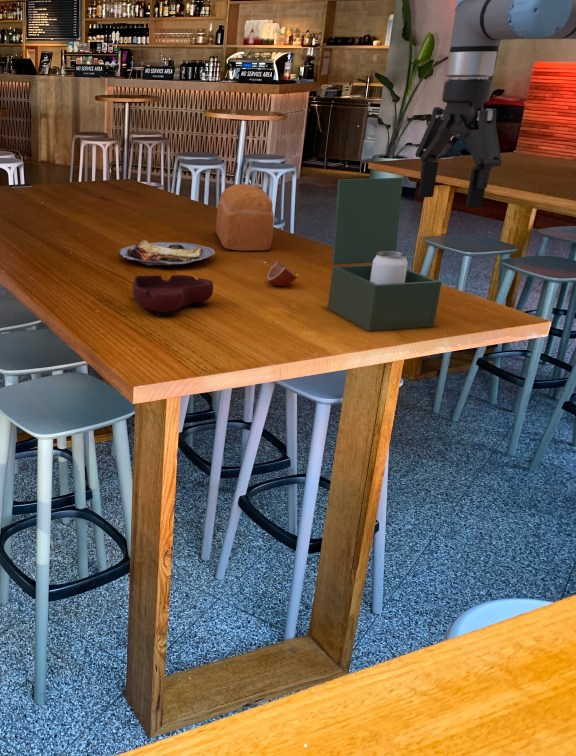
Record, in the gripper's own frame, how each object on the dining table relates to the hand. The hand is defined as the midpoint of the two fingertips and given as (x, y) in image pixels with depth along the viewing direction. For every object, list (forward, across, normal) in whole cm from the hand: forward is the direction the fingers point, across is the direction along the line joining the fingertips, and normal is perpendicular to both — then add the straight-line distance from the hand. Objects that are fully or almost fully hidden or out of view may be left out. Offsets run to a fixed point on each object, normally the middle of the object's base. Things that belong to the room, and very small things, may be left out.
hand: (448, 202), depth 146 cm
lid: (+6, +16, +5) cm, 18 cm away
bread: (+23, +84, +2) cm, 87 cm away
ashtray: (+24, +27, +45) cm, 58 cm away
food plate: (+23, +68, +31) cm, 78 cm away
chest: (+24, +8, +6) cm, 26 cm away
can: (+23, +8, +5) cm, 25 cm away
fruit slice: (+24, +36, +13) cm, 45 cm away
